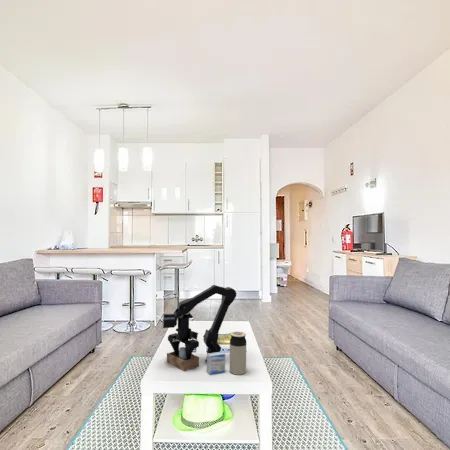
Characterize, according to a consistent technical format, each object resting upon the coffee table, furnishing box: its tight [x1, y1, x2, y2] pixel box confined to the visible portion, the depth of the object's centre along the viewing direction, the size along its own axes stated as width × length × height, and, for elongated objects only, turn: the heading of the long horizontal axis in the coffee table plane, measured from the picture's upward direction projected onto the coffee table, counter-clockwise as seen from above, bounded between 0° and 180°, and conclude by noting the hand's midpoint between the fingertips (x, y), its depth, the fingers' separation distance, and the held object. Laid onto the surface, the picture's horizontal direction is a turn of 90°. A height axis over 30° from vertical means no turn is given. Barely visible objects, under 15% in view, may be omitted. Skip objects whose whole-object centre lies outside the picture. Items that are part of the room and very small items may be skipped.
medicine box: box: [206, 351, 226, 376], centre depth 150 cm, size 8×4×9 cm, turn 113°
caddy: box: [166, 351, 200, 372], centre depth 158 cm, size 15×9×4 cm, turn 46°
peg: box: [179, 346, 186, 361], centre depth 158 cm, size 4×4×8 cm
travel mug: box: [229, 330, 247, 375], centre depth 151 cm, size 8×8×18 cm
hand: (182, 357), depth 158 cm, fingers open, 9 cm apart
